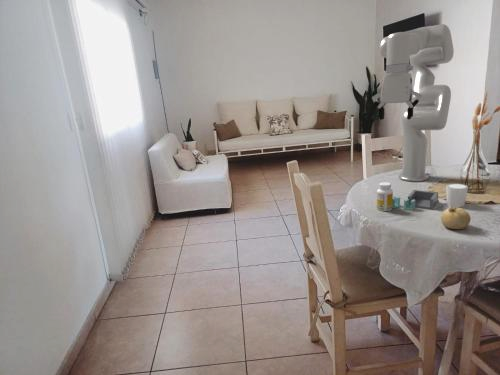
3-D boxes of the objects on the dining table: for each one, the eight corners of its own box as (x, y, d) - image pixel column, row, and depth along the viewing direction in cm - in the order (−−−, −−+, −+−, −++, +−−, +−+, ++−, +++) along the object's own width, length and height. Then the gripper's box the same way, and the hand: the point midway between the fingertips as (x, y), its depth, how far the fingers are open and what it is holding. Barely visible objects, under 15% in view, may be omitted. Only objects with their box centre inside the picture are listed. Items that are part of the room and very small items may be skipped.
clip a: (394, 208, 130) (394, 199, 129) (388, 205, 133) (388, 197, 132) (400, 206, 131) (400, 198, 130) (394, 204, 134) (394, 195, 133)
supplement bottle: (391, 206, 132) (392, 181, 130) (393, 211, 127) (394, 185, 125) (376, 206, 134) (376, 181, 131) (377, 211, 129) (377, 186, 126)
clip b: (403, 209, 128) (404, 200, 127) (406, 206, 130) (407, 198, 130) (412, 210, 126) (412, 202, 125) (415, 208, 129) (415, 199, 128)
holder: (412, 198, 138) (413, 189, 136) (438, 201, 132) (439, 192, 131) (406, 206, 131) (406, 196, 130) (433, 209, 125) (434, 199, 124)
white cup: (464, 201, 130) (465, 183, 128) (468, 208, 124) (470, 189, 122) (443, 201, 133) (444, 183, 131) (446, 207, 127) (447, 188, 125)
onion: (444, 220, 116) (446, 200, 114) (472, 225, 111) (474, 204, 109) (436, 229, 111) (438, 207, 109) (465, 234, 106) (467, 212, 104)
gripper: (426, 68, 123) (423, 118, 128) (376, 72, 133) (375, 118, 138) (421, 67, 117) (418, 120, 122) (369, 72, 128) (368, 120, 132)
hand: (395, 119), depth 130 cm, fingers open, 9 cm apart
